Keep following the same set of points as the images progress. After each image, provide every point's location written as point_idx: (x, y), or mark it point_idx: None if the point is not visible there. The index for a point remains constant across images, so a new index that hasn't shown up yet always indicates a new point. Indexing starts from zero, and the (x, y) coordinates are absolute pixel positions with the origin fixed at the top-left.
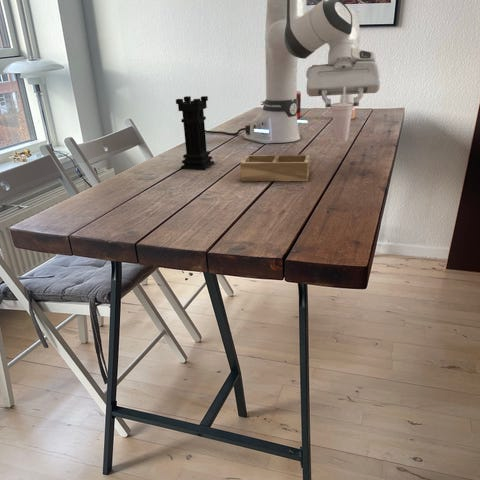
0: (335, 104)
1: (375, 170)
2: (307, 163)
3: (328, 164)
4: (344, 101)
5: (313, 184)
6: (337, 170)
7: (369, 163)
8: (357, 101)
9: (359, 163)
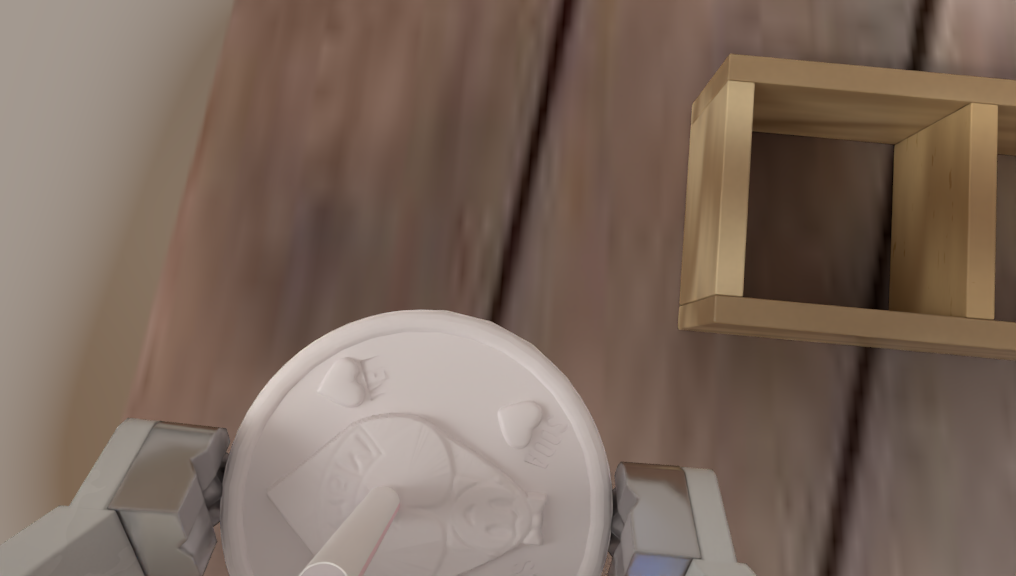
0: (532, 492)
1: (221, 338)
2: (729, 54)
3: None
4: (372, 493)
5: (653, 35)
6: None
7: None
8: (145, 426)
9: None
